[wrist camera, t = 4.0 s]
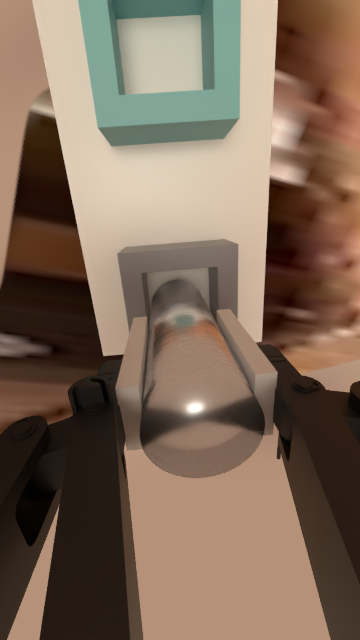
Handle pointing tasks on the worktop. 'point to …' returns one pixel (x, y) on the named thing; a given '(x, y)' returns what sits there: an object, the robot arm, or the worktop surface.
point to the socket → (166, 107)
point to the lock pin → (194, 390)
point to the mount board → (165, 170)
